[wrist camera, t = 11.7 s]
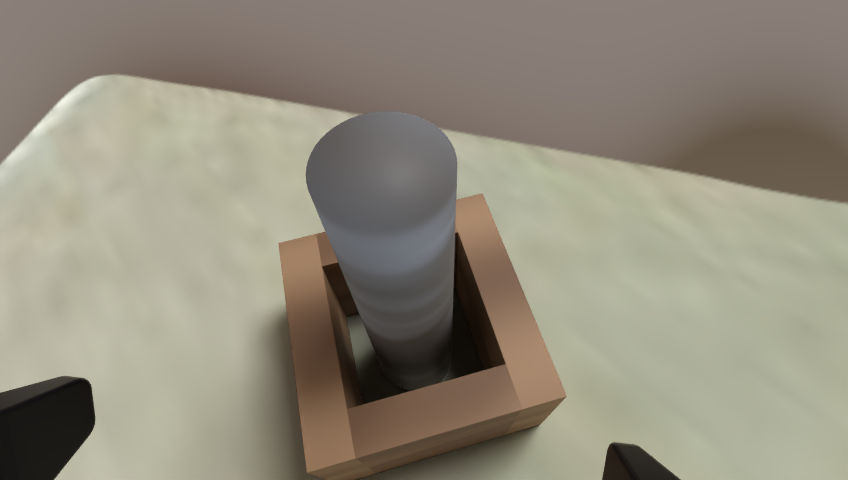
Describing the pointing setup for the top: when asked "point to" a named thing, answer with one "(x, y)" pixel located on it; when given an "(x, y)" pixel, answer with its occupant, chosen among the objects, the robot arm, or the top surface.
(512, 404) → the walnut square holder
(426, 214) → the slate dowel
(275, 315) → the top surface
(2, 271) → the top surface
